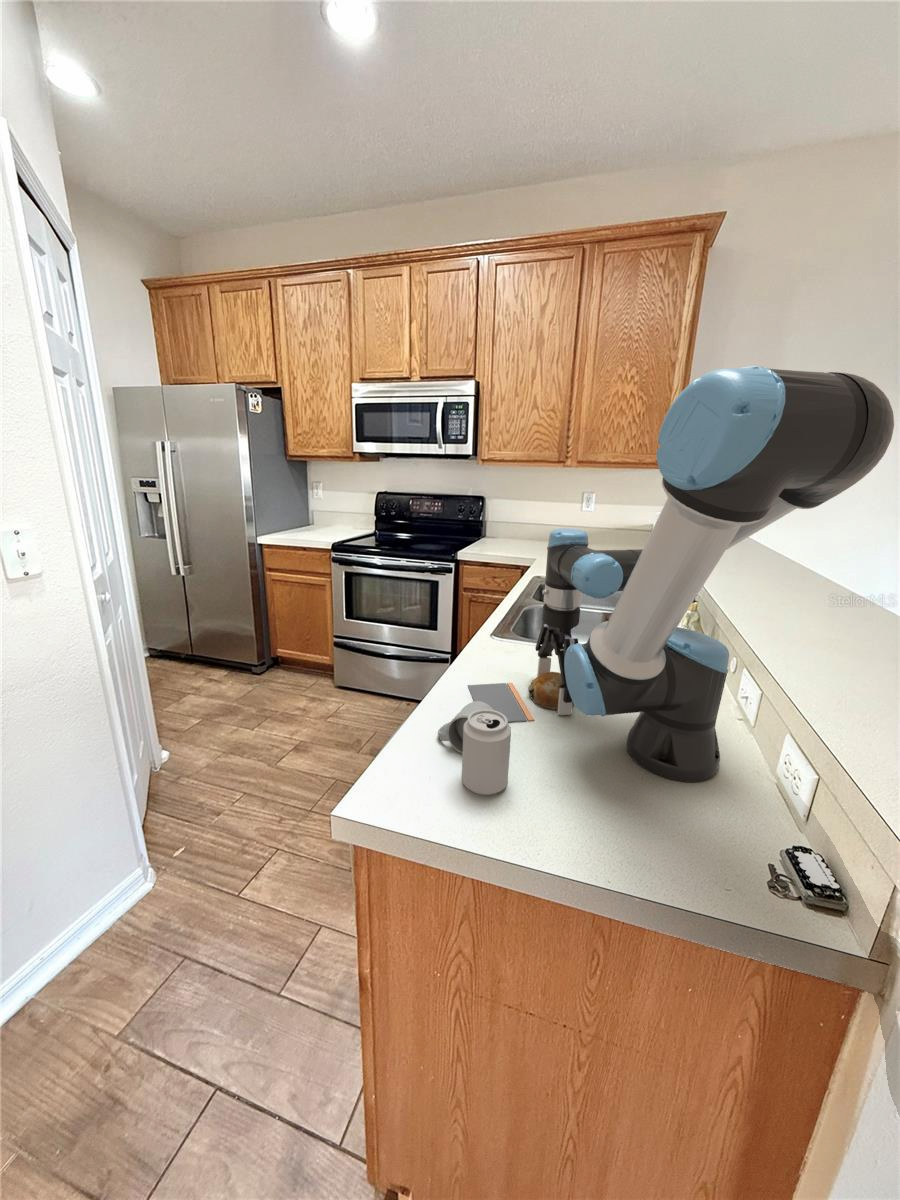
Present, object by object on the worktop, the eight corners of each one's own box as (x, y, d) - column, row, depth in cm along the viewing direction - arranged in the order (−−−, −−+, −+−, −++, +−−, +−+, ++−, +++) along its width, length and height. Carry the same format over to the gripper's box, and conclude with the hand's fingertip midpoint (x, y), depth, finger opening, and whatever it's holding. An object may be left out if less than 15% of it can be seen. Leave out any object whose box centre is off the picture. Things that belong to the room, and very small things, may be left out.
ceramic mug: (499, 736, 92) (500, 699, 89) (486, 760, 84) (487, 722, 82) (447, 724, 95) (447, 689, 93) (430, 747, 88) (430, 710, 86)
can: (494, 805, 74) (498, 737, 70) (452, 787, 78) (454, 721, 74) (515, 778, 80) (519, 714, 76) (475, 763, 84) (478, 701, 80)
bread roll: (553, 728, 101) (572, 703, 97) (516, 696, 105) (532, 670, 101) (573, 709, 109) (591, 685, 105) (537, 680, 113) (553, 655, 109)
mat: (534, 720, 97) (534, 719, 97) (483, 724, 95) (483, 723, 95) (512, 683, 112) (512, 682, 112) (467, 686, 110) (467, 685, 110)
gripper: (525, 588, 110) (519, 673, 117) (567, 627, 87) (556, 730, 93) (557, 587, 111) (549, 672, 118) (606, 625, 88) (593, 728, 95)
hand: (552, 698), depth 106 cm, fingers open, 12 cm apart
